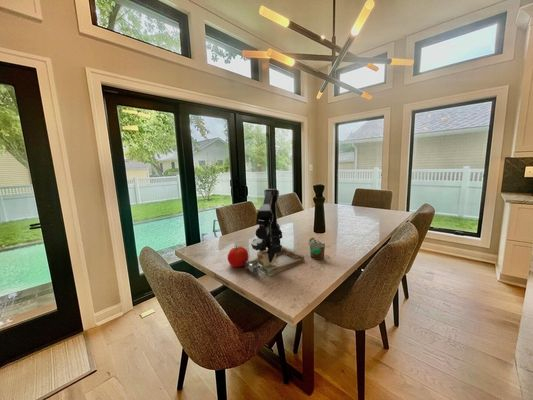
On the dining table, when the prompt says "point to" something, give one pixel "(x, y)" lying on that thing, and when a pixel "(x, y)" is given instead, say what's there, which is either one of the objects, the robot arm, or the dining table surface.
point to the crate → (265, 258)
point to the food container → (316, 249)
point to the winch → (252, 268)
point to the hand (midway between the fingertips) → (266, 260)
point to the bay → (274, 270)
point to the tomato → (237, 256)
